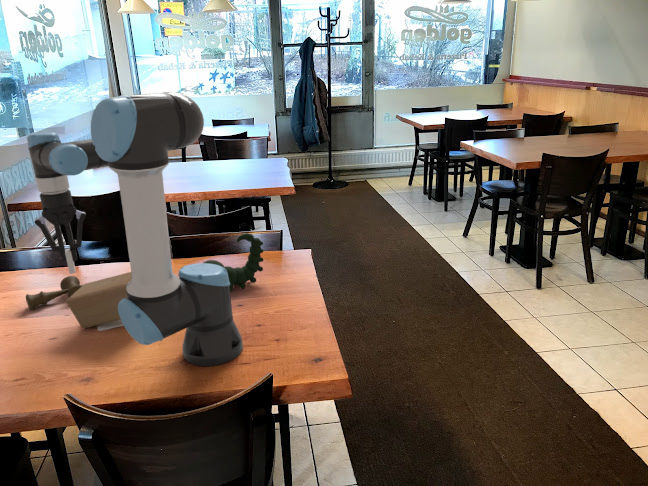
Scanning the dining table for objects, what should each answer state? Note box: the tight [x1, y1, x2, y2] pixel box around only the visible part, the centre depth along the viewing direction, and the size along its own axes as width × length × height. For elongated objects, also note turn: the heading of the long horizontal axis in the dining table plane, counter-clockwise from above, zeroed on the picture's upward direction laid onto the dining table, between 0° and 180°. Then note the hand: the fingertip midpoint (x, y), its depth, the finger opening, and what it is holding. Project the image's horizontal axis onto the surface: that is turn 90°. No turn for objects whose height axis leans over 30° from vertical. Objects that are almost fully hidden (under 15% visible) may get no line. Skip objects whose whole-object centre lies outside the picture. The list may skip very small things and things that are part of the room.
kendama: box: [25, 275, 84, 311], centre depth 164 cm, size 6×10×20 cm
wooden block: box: [66, 271, 132, 329], centre depth 146 cm, size 10×10×20 cm
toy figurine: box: [202, 232, 264, 292], centre depth 165 cm, size 9×19×25 cm
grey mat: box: [96, 320, 124, 332], centre depth 156 cm, size 20×17×1 cm
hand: (72, 271), depth 146 cm, fingers closed
